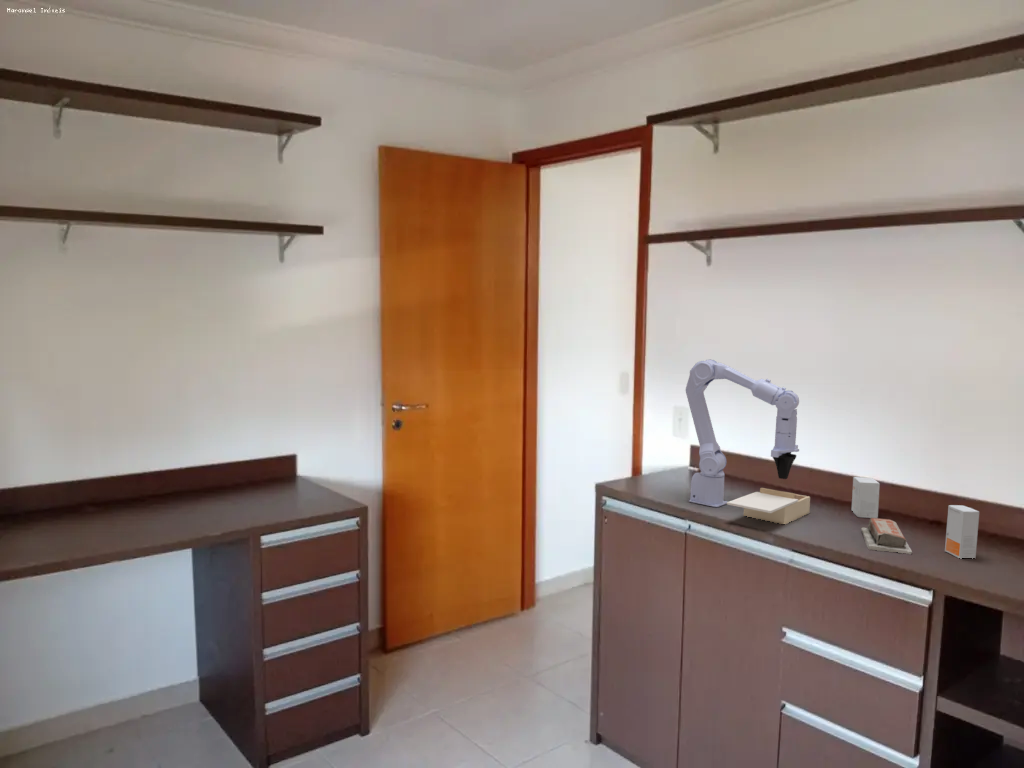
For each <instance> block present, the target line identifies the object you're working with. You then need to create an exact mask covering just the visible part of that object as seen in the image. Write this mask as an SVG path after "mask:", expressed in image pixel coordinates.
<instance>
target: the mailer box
mask: <svg viewBox="0 0 1024 768" xmlns="http://www.w3.org/2000/svg"><path fill="white" fill-rule="evenodd" d="M794 494H795V498H794V499H798V502H796V503H794V504H791V505H789V506H787V507H784V508H782V509H779V510H777V511H775V512H772V513H767V512H762V511H757V510H752V509H747V508H743V517H744V516H747V517H746V518H748V517H752V518H751V519H753V518H756V519H755V520H758V519H761V520H760V521H762V520H765V521H764V522H767V521H770V522H769V523H772V522H774V523H773V524H777V523H779V524H778V525H781V524H785V525H787V524H790V523H791V521H792V522H794V521H796V520H798V519H800V518H803V517H804V515H805V516H806V515H809V514H810V510H811V509H810V508H811V507H810V506H811V496H809V495H808V496H807V495H802V494H797V493H794ZM802 516H803V517H802ZM789 522H790V523H789Z"/></svg>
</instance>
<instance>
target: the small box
mask: <svg viewBox="0 0 1024 768" xmlns="http://www.w3.org/2000/svg"><path fill="white" fill-rule="evenodd" d="M880 485H881V484H880V482H879V481H877V480H876V479H875V478H874V477H861V476H853V477H852V492H851V493H852V494H851V495H852V496H851V497H852V499H851V512H852V511H853V512H852V513H853V515H855V516H856V517H858V518H863V519H864V518H865V519H870V518H877V519H879V507H880V506H879V502H880V487H881V486H880Z"/></svg>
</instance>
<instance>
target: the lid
mask: <svg viewBox="0 0 1024 768" xmlns="http://www.w3.org/2000/svg"><path fill="white" fill-rule="evenodd" d="M795 494H796V493H795V492H794V493H793V492H788V491H782V490H777V489H771V488H765V487H760V488H759V491H755V492H754V491H753V492H752V493H749V494H746V495H743V496H740V497H738V498H735V499H733V500H730V501H728V502H727V504H726V505H728V506H731V507H732V506H734V507H738V508H743V509H744V508H747V509H752V510H757V511H762V512H767V513H772V512H775V511H777V510H779V509H782V508H784V507H787V506H789V505H791V504H794V503H796V502H798V499H794V498H795Z"/></svg>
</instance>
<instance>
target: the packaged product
mask: <svg viewBox="0 0 1024 768" xmlns="http://www.w3.org/2000/svg"><path fill="white" fill-rule="evenodd" d="M860 529H861V533H862V537H863V539H864V542H865V545H866V547H867V549H868V550H869V551H875V550H877V552H884V551H889V552H888V553H893V552H898V553H897V554H903V553H906V554H905V555H911V554H913V551H912V549H911V547H910V545H909V544H908V542H907V539H906V537H905V536H904V534H903V533H902V531H901V529H900V527H899V525H898V524H897V522H896V521H894V520H892V519H889V518H888V519H887V518H869V521H868V525H867V527H865V526H863V527H861V528H860Z"/></svg>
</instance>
